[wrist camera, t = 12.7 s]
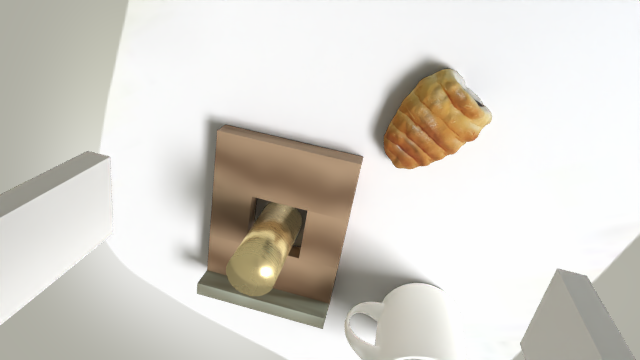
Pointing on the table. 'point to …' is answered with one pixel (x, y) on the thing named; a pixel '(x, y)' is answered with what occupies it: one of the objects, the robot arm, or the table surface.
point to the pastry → (434, 121)
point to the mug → (411, 326)
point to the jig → (288, 189)
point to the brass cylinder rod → (264, 250)
